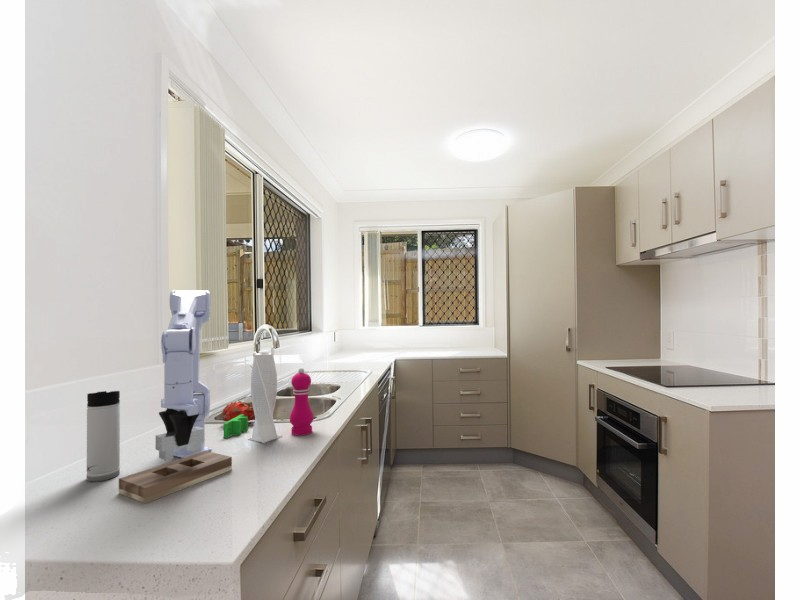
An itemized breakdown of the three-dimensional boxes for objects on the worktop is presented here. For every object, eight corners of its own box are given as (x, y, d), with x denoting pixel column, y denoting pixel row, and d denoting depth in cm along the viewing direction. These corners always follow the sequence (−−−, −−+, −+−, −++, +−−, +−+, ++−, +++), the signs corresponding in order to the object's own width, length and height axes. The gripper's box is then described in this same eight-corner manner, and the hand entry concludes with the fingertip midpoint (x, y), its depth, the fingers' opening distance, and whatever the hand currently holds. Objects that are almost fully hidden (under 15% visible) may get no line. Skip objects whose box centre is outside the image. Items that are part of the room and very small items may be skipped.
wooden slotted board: (118, 493, 87) (118, 478, 88) (205, 462, 105) (205, 450, 105) (145, 503, 82) (145, 488, 83) (231, 469, 100) (231, 456, 100)
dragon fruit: (219, 429, 141) (256, 432, 143) (215, 419, 135) (253, 423, 136) (226, 405, 146) (261, 409, 148) (223, 395, 140) (260, 399, 141)
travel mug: (83, 484, 92) (84, 393, 93) (89, 474, 98) (89, 388, 99) (117, 479, 95) (117, 390, 96) (121, 469, 101) (121, 386, 102)
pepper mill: (292, 429, 133) (291, 366, 134) (314, 429, 134) (314, 366, 135) (287, 436, 126) (287, 369, 127) (312, 435, 127) (311, 369, 127)
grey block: (155, 458, 92) (155, 435, 92) (196, 447, 99) (196, 426, 99) (162, 461, 89) (162, 438, 90) (204, 450, 96) (204, 428, 97)
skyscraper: (285, 438, 125) (284, 344, 126) (263, 446, 118) (263, 346, 119) (266, 434, 130) (266, 344, 130) (244, 441, 123) (244, 346, 124)
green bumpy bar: (235, 438, 126) (235, 423, 126) (223, 438, 126) (223, 423, 126) (252, 428, 137) (251, 414, 137) (241, 428, 137) (240, 414, 137)
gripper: (212, 382, 93) (212, 444, 92) (182, 377, 102) (183, 433, 102) (178, 387, 87) (178, 453, 87) (151, 381, 97) (151, 440, 96)
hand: (178, 443), depth 94 cm, fingers closed on grey block, 3 cm apart
